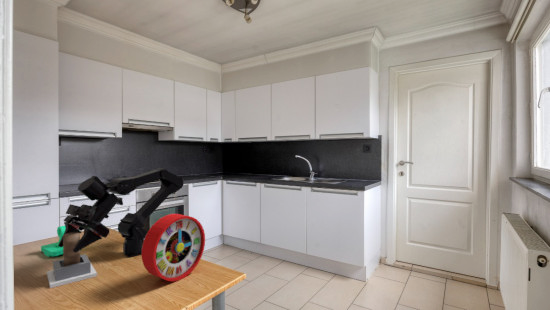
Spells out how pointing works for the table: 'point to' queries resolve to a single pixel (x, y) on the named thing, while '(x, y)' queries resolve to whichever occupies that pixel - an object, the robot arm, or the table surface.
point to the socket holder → (70, 272)
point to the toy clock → (173, 247)
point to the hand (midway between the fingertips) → (66, 249)
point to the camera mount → (54, 245)
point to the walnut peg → (70, 248)
